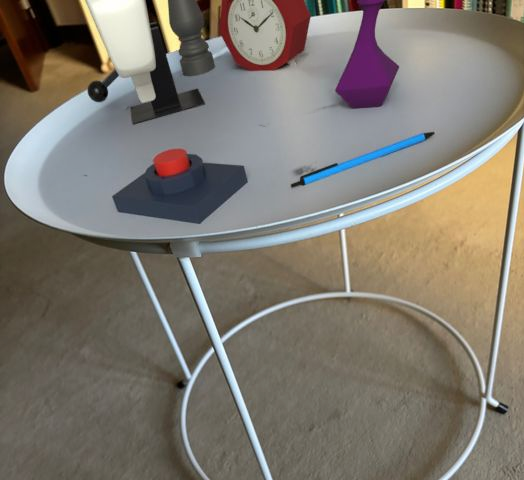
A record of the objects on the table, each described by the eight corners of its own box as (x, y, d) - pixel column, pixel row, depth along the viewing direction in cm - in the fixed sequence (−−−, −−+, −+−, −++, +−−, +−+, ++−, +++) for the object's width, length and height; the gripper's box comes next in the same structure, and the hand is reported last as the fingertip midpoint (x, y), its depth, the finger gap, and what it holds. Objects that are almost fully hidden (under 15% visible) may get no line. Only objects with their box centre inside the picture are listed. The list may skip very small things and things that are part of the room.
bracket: (134, 130, 94) (105, 45, 86) (132, 114, 101) (104, 33, 93) (206, 110, 95) (184, 23, 87) (199, 95, 102) (178, 13, 93)
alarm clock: (228, 77, 106) (199, -54, 93) (254, 60, 111) (229, -66, 98) (299, 76, 98) (278, -67, 86) (323, 58, 103) (306, -80, 91)
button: (150, 176, 69) (145, 162, 68) (171, 161, 72) (167, 147, 71) (176, 179, 67) (171, 164, 66) (196, 163, 70) (192, 149, 69)
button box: (117, 212, 72) (105, 182, 70) (168, 175, 78) (158, 145, 76) (199, 224, 66) (189, 191, 63) (248, 182, 71) (240, 150, 69)
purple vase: (400, 89, 84) (393, -60, 73) (391, 110, 79) (382, -47, 68) (349, 94, 87) (334, -49, 76) (337, 114, 82) (320, -36, 71)
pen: (290, 188, 68) (288, 179, 67) (433, 134, 71) (433, 125, 70) (293, 190, 67) (292, 181, 67) (437, 137, 70) (437, 127, 70)
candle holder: (178, 82, 110) (133, -79, 94) (193, 71, 114) (152, -86, 98) (207, 80, 107) (166, -87, 91) (221, 68, 112) (184, -94, 96)
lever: (98, 109, 94) (82, 93, 92) (98, 103, 96) (83, 88, 94) (161, 45, 90) (146, 27, 88) (160, 41, 93) (145, 23, 91)
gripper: (73, -54, 63) (117, 80, 72) (65, -32, 48) (122, 135, 56) (130, -68, 63) (167, 67, 72) (140, -51, 48) (186, 118, 57)
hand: (147, 97), depth 64 cm, fingers closed
